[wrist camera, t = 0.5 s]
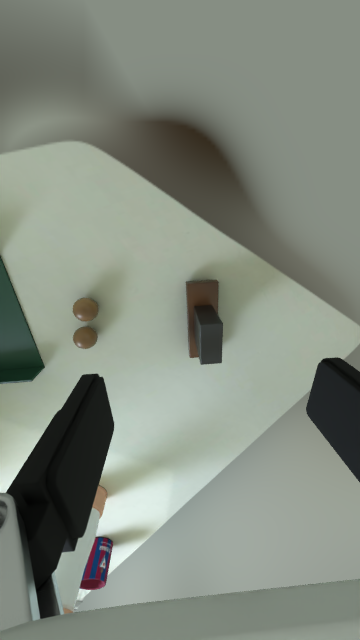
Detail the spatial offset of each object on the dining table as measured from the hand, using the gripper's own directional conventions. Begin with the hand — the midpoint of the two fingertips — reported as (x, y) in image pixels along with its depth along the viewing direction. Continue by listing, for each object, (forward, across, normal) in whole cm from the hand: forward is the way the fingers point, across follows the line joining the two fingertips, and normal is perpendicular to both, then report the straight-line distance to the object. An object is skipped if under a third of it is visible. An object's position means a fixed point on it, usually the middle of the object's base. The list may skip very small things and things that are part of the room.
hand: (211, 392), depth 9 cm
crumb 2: (+18, +14, +6) cm, 23 cm away
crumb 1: (+18, +12, +2) cm, 22 cm away
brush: (+19, -2, +5) cm, 20 cm away
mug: (+21, +26, +69) cm, 76 cm away
